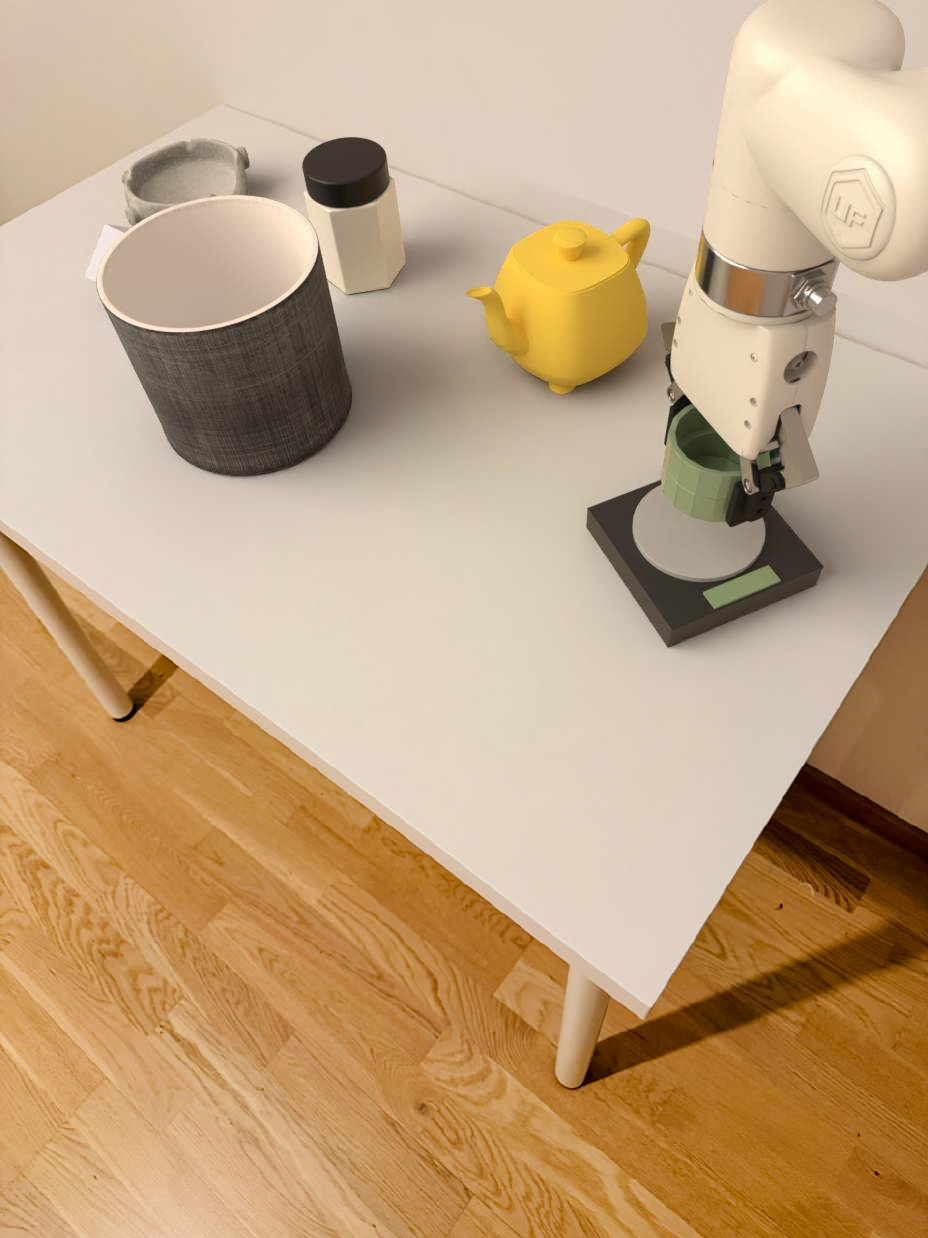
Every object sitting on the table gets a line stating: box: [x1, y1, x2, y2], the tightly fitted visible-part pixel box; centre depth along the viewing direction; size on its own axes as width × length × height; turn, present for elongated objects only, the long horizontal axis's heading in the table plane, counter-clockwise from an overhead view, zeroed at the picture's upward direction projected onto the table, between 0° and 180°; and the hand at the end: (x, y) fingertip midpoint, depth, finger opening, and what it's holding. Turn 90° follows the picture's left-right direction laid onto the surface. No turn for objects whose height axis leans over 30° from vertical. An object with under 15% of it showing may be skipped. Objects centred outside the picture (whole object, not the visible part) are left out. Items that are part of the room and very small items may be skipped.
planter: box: [95, 195, 353, 476], centre depth 78 cm, size 18×18×16 cm
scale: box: [585, 479, 825, 648], centre depth 71 cm, size 13×13×3 cm
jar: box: [301, 136, 407, 295], centre depth 91 cm, size 9×8×12 cm
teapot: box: [464, 217, 651, 395], centre depth 81 cm, size 13×20×12 cm
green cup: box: [660, 404, 771, 522], centre depth 63 cm, size 7×7×5 cm
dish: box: [121, 137, 251, 228], centre depth 102 cm, size 14×14×5 cm
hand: (714, 477), depth 64 cm, fingers closed on green cup, 7 cm apart
